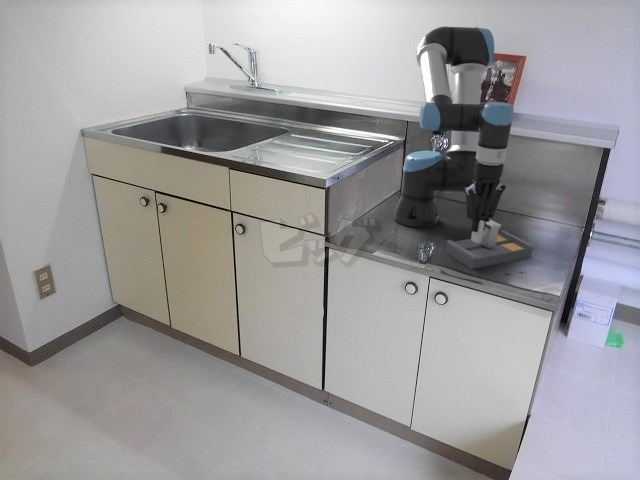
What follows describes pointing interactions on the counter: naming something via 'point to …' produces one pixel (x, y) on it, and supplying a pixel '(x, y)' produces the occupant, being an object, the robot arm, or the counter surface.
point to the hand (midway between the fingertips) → (475, 241)
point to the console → (489, 251)
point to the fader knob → (490, 234)
